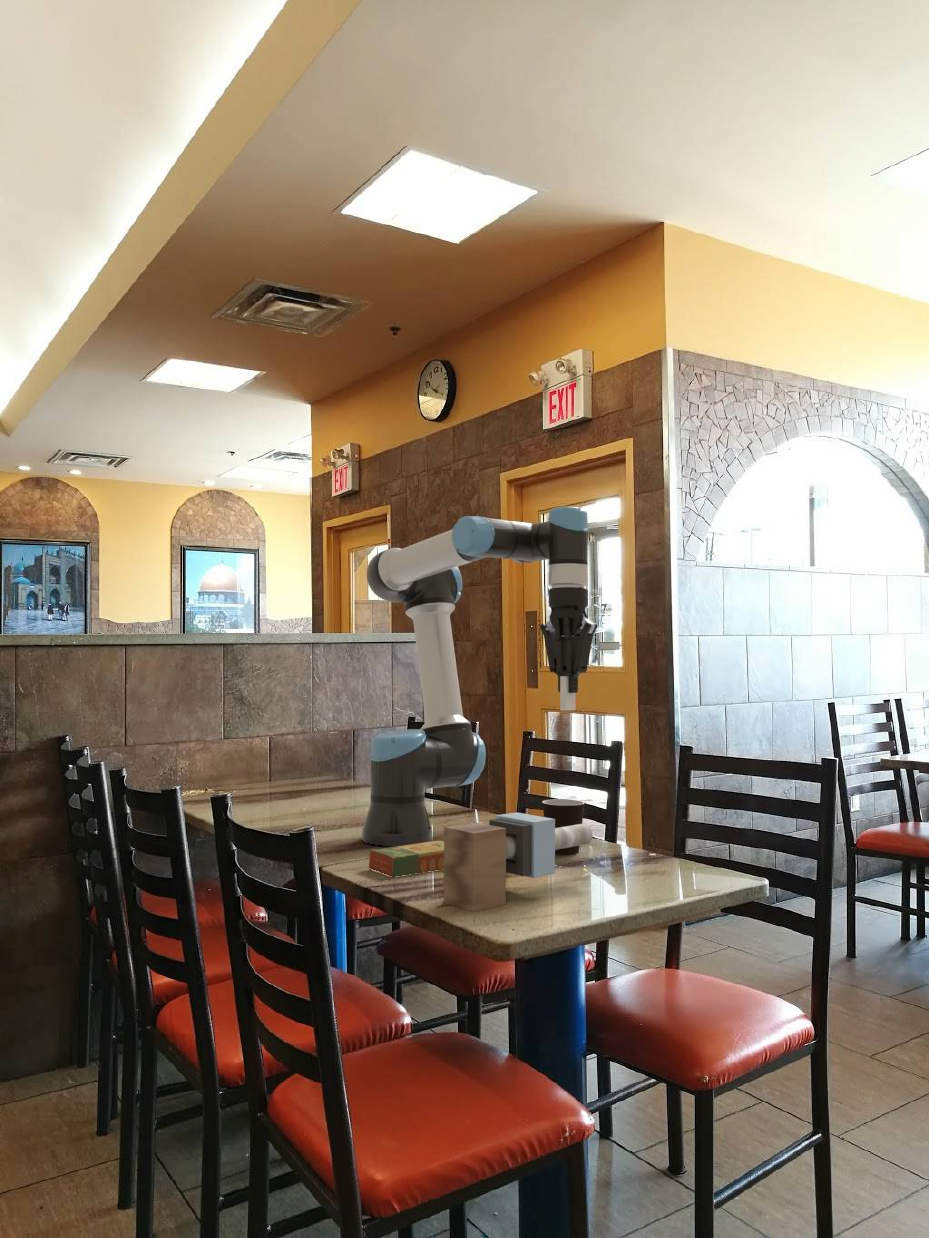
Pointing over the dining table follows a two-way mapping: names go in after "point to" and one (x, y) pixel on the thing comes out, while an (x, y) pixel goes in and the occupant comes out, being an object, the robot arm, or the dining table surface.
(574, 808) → the coffee mug
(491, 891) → the pipe mount
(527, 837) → the dark gray square plate
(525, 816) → the sleeve
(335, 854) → the dining table surface
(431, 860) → the carton
